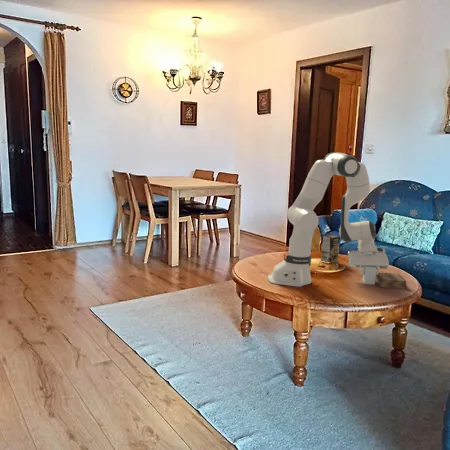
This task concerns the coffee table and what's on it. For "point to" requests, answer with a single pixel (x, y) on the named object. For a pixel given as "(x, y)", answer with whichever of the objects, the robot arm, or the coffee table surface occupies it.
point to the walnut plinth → (390, 280)
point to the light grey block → (369, 275)
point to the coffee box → (330, 248)
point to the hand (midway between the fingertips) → (369, 274)
